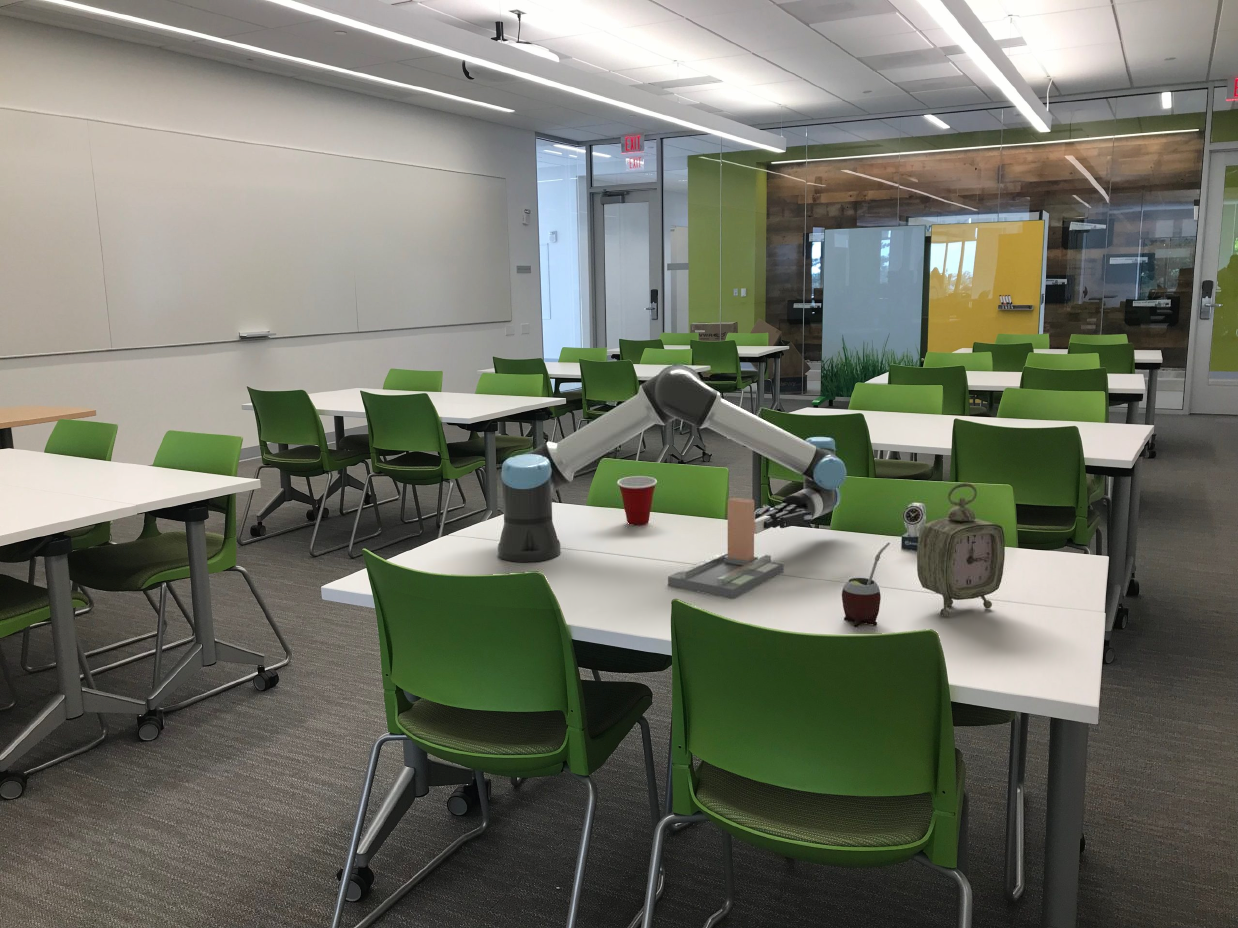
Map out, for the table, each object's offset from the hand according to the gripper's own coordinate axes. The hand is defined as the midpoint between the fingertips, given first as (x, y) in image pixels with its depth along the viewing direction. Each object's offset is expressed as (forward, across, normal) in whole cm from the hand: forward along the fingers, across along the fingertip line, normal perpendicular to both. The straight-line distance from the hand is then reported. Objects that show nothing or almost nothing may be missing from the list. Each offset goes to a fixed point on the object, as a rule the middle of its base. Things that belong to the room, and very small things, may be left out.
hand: (753, 527), depth 211 cm
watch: (-37, -24, -10) cm, 45 cm away
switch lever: (+3, +1, -8) cm, 8 cm away
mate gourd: (+18, -33, -10) cm, 39 cm away
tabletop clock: (+1, -46, -10) cm, 47 cm away
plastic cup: (-21, +47, -10) cm, 53 cm away
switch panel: (+9, +2, -10) cm, 13 cm away
